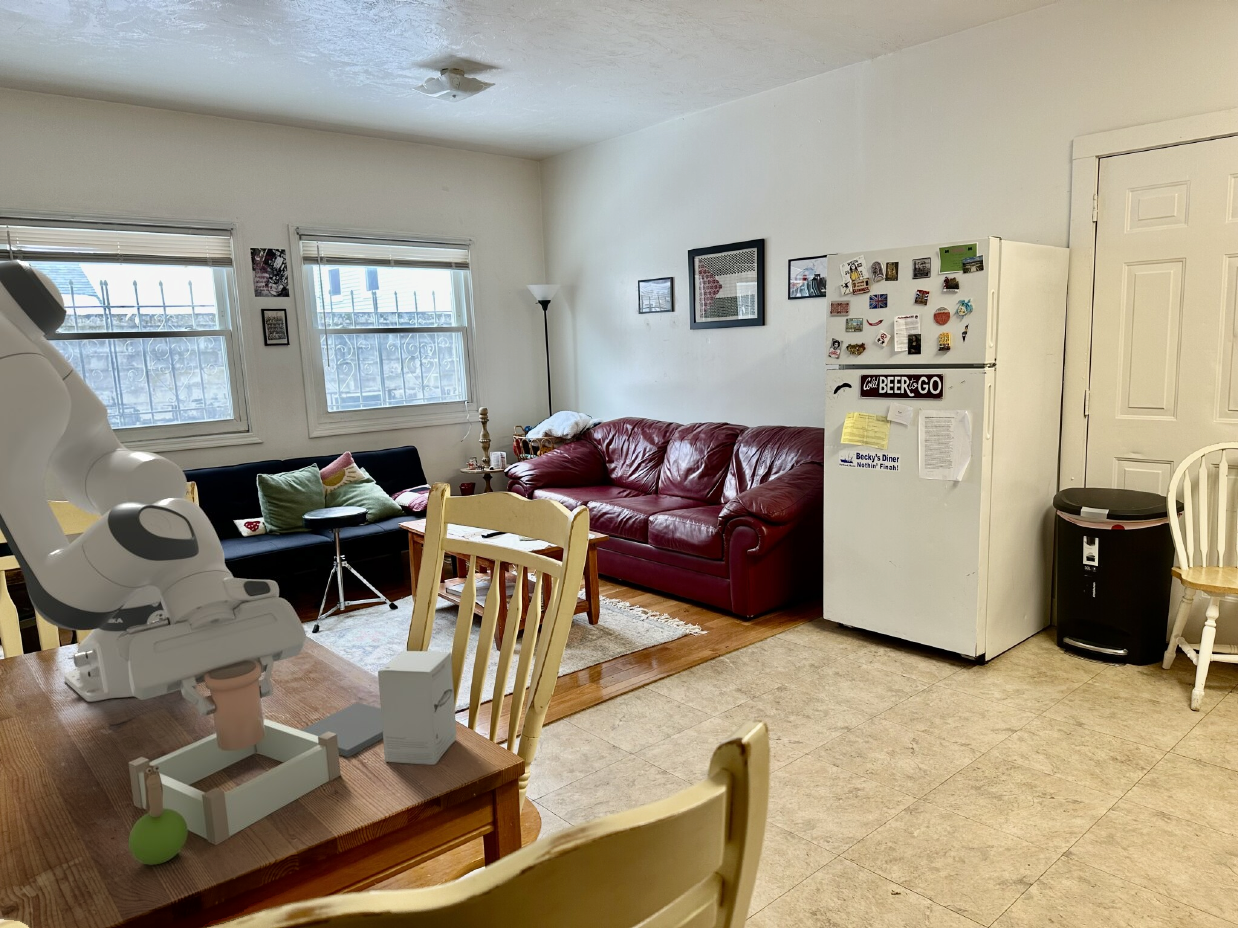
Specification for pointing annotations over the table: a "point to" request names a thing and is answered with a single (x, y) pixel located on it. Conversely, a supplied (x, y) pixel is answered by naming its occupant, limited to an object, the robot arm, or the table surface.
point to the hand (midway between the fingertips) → (238, 703)
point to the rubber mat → (351, 727)
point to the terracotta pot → (237, 705)
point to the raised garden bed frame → (251, 801)
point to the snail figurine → (156, 825)
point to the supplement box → (417, 707)
